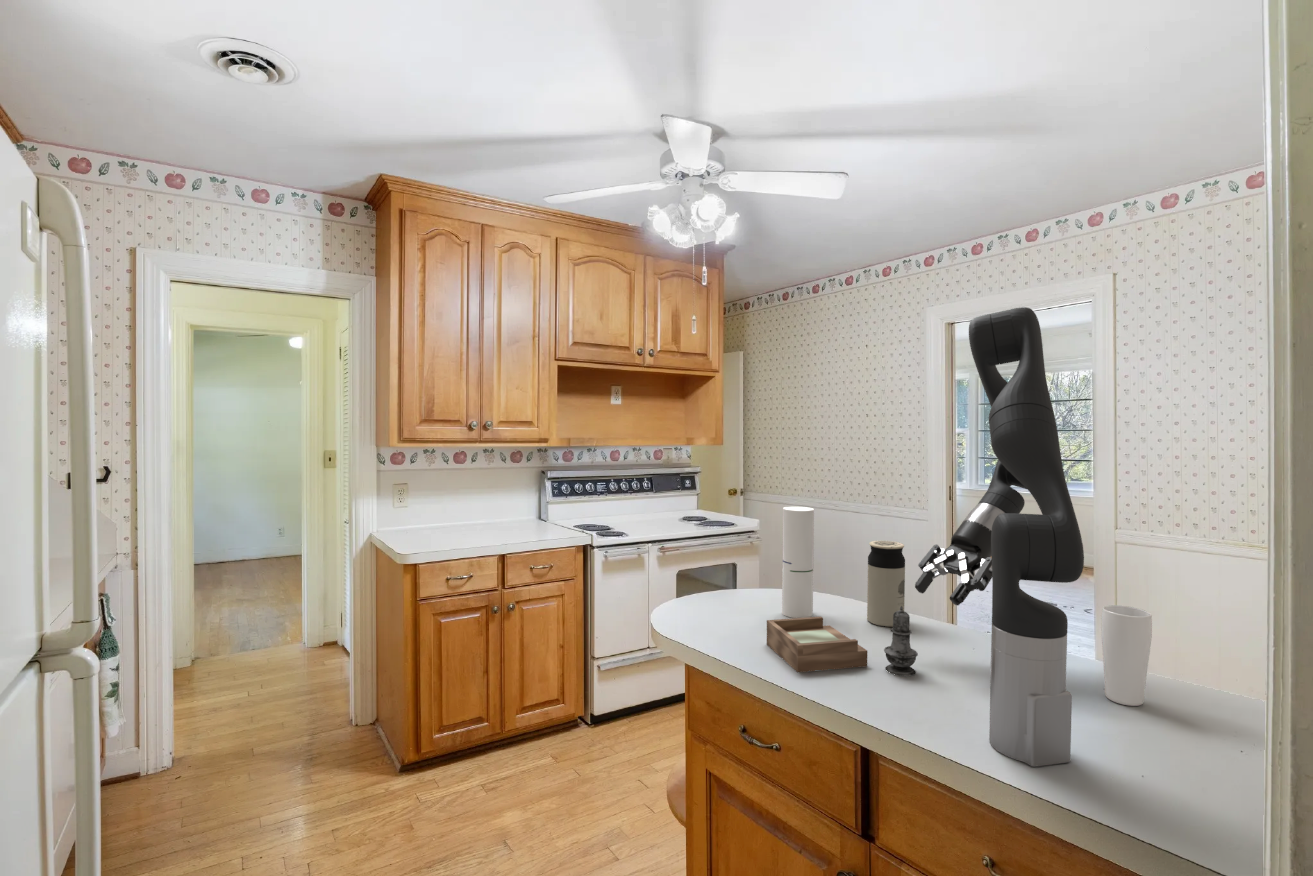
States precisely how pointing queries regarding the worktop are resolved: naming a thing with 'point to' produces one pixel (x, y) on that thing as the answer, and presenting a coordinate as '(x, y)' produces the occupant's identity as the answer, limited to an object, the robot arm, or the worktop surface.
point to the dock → (813, 645)
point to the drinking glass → (1125, 652)
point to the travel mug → (885, 582)
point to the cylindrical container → (797, 562)
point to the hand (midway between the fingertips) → (935, 596)
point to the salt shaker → (900, 646)
